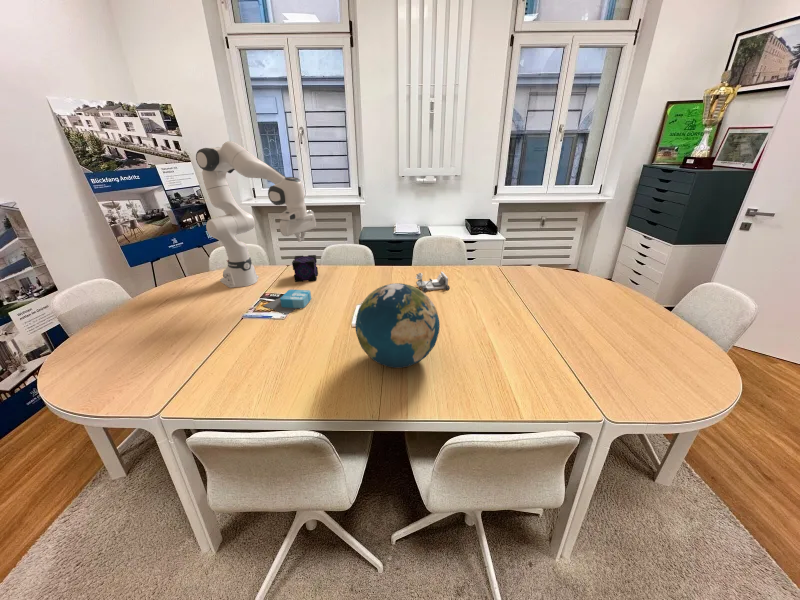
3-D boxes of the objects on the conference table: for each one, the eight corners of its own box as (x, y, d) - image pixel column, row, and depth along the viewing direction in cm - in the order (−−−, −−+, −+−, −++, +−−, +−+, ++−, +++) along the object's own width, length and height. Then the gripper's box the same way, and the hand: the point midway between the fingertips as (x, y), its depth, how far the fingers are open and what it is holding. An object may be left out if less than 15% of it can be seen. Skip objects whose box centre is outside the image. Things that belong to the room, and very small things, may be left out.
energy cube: (298, 274, 212) (295, 255, 206) (318, 273, 213) (315, 254, 208) (295, 282, 201) (292, 262, 196) (316, 281, 202) (313, 261, 197)
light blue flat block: (311, 290, 178) (302, 300, 167) (312, 298, 180) (303, 308, 169) (289, 289, 179) (278, 299, 169) (290, 297, 181) (280, 307, 171)
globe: (363, 338, 145) (359, 271, 132) (435, 338, 144) (438, 271, 131) (352, 385, 118) (345, 306, 105) (440, 386, 117) (444, 306, 104)
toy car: (417, 276, 182) (412, 268, 192) (417, 293, 186) (412, 284, 196) (450, 273, 184) (444, 266, 195) (449, 290, 189) (443, 282, 199)
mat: (263, 306, 173) (262, 305, 173) (283, 296, 183) (283, 296, 183) (286, 314, 165) (286, 313, 165) (306, 304, 174) (306, 303, 174)
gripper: (308, 208, 177) (311, 235, 183) (275, 216, 161) (280, 245, 167) (317, 209, 173) (320, 236, 179) (285, 217, 158) (289, 247, 164)
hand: (301, 240), depth 173 cm, fingers closed
